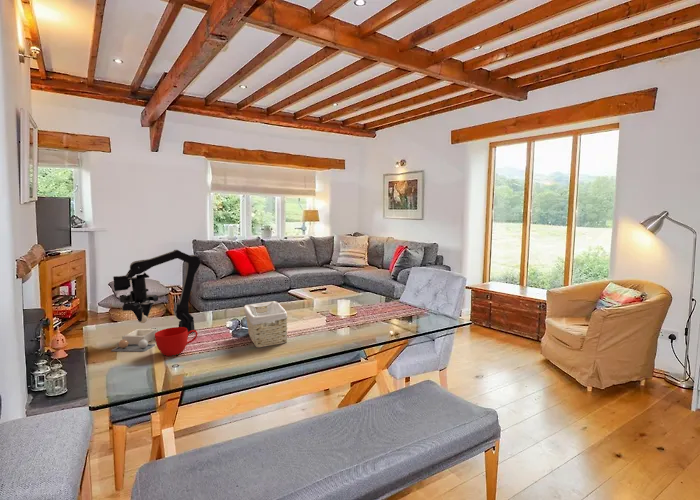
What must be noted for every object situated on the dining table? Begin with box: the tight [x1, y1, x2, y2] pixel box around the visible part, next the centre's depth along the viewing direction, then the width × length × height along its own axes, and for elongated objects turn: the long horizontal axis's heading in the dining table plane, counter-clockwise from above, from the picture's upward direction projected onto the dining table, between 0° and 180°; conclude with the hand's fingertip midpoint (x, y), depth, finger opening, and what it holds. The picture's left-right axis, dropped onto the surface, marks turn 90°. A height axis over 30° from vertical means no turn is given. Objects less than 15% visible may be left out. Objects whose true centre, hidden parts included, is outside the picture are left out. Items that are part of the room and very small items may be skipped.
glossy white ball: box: [138, 339, 149, 349], centre depth 185 cm, size 4×4×4 cm
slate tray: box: [111, 343, 156, 353], centre depth 186 cm, size 16×8×1 cm, turn 82°
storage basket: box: [243, 300, 288, 348], centre depth 191 cm, size 24×16×15 cm
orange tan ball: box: [118, 339, 129, 348], centre depth 186 cm, size 4×4×4 cm
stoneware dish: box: [121, 328, 159, 344], centre depth 197 cm, size 11×11×4 cm
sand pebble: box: [139, 315, 148, 324], centre depth 195 cm, size 4×4×4 cm
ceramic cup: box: [154, 326, 198, 357], centre depth 178 cm, size 13×17×10 cm
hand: (142, 320), depth 196 cm, fingers closed on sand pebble, 4 cm apart
